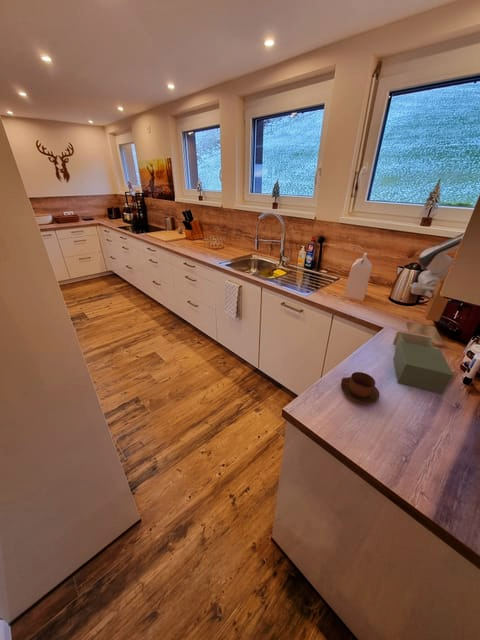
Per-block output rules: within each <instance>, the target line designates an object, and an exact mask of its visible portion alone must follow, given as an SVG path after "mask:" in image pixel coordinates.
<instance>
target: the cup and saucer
mask: <svg viewBox="0 0 480 640" xmlns="http://www.w3.org/2000/svg"><path fill="white" fill-rule="evenodd" d="M340 389H341V391H342V392H343V394H344V395H345V396H346V397H347V398H349V399H350V400H352V401H354V402H357V403H359V404H365V405H366V404H367V405H370V404H375V403H376V402H377V401H378V400H379V399H380V395H381V394H380V392H379V389H378V388H377V387H376V380H375V379H374V377H373V376H371V375H370V374H368V373H365V372H362V371H354V372H353V373H351V375H350V376H349V377H346V376H345V377H343V378H341V381H340Z"/></svg>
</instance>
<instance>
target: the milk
mask: <svg viewBox="0 0 480 640" xmlns="http://www.w3.org/2000/svg"><path fill="white" fill-rule="evenodd" d="M367 256H368V252H364V253H363V255H362V257H361V258H357V259H356V260H355V261H354V262H353V263H352V265H351V267H350V270H349V274H348V277H347V281H346V285H345V289H344V292H343V295H342V297H343V298H348V299H352V300H358V301H361V302H362V301H364V300H365V298H366V295H367V290H368V287H369V282H370V279H371V278H370V277H371V273H372V269H373V265H372V263H371V261H370V260H369V259H368V258H367Z"/></svg>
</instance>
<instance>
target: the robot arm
mask: <svg viewBox="0 0 480 640" xmlns="http://www.w3.org/2000/svg"><path fill="white" fill-rule="evenodd" d="M464 233H465V232H463V233H461V234H458V235H456V236H454V237H452V238H450V239H448V240H445V241H443V242H441V243H439V244H436V245H433V246H430V247H427V248H426V249H424V250H423V251H422V252H421V253H419V255H418V264H419V266H420V267H423V268H424V269H426V270H423V271H421V272H420V274H419V275H418V277H417V282H413V283H409V285H408V287H409V288H410V293H411V294H413V295H417V296H418V295H419V296H423V297H424V296H425V297H428V298H429V299H430V298H434V294H433V291H434V289H435V286H436V284H437V282H438V280H439V281H440V280H441V279H442V278H443V277H446V275H447V273H448V270H449V267H450V265H451V263H452V260H453V259H454V258H453V257H451V256H450V255H448V254H447V253H451V252H452V251H455V250H457V249H459V248H458V246H459V243H460V241H461V238H462V236H463V234H464ZM451 301H452V300H451V299H449V300H448V302H451Z"/></svg>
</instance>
